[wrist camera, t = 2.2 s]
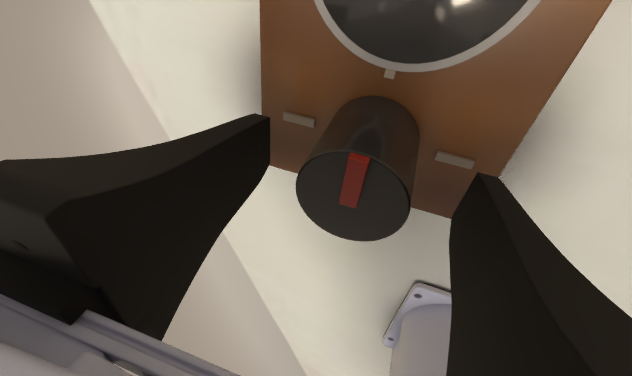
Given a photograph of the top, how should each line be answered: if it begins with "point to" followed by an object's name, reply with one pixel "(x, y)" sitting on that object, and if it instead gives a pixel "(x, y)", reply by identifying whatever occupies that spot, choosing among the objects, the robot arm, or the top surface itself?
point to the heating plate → (421, 29)
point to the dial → (362, 170)
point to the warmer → (419, 92)
